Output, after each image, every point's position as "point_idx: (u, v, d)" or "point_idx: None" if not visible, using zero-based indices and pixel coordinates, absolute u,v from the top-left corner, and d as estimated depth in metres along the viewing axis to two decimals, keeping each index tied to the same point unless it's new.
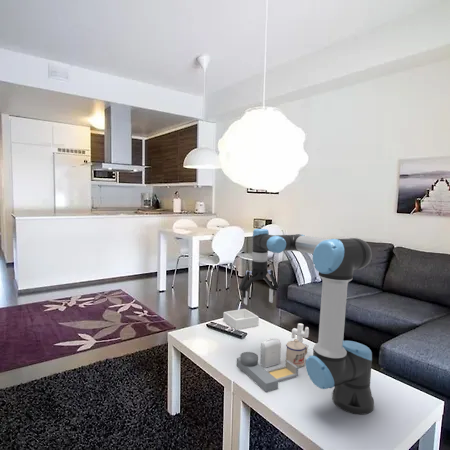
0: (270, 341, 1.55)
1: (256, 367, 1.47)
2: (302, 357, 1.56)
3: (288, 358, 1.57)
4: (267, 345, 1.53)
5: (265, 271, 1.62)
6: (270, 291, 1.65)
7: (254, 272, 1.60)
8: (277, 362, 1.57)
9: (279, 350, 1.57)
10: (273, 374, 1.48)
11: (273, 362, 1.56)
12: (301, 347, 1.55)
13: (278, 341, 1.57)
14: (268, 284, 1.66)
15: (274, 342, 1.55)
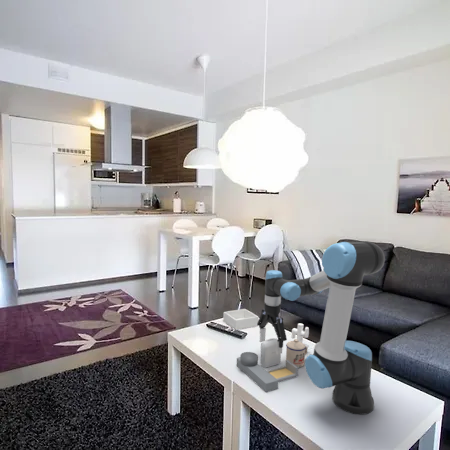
0: (270, 341, 1.55)
1: (256, 367, 1.47)
2: (302, 357, 1.56)
3: (288, 358, 1.57)
4: (267, 345, 1.53)
5: (273, 317, 1.53)
6: None
7: (266, 313, 1.58)
8: (277, 362, 1.57)
9: None
10: (273, 374, 1.48)
11: (273, 362, 1.56)
12: (301, 347, 1.55)
13: None
14: None
15: (274, 342, 1.55)
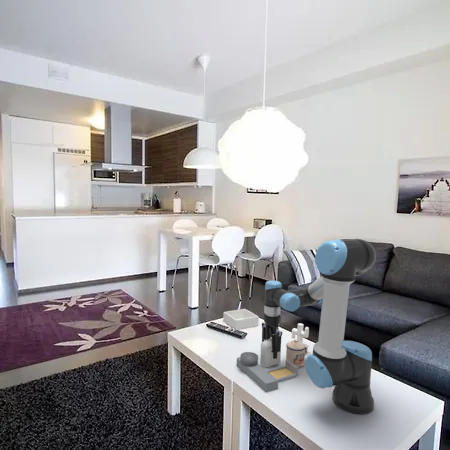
0: (270, 341, 1.55)
1: (256, 367, 1.47)
2: (302, 357, 1.56)
3: (288, 358, 1.57)
4: (267, 345, 1.53)
5: (273, 327, 1.53)
6: None
7: (266, 323, 1.58)
8: (277, 362, 1.57)
9: None
10: (273, 374, 1.48)
11: None
12: (301, 347, 1.55)
13: None
14: None
15: None
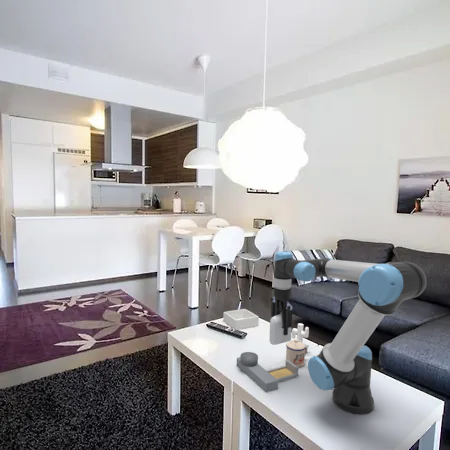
0: (280, 316, 1.44)
1: (256, 367, 1.47)
2: (302, 357, 1.56)
3: (288, 358, 1.57)
4: (277, 320, 1.42)
5: (284, 301, 1.42)
6: None
7: (275, 298, 1.47)
8: (287, 339, 1.46)
9: None
10: (273, 374, 1.48)
11: None
12: (301, 347, 1.55)
13: None
14: None
15: None
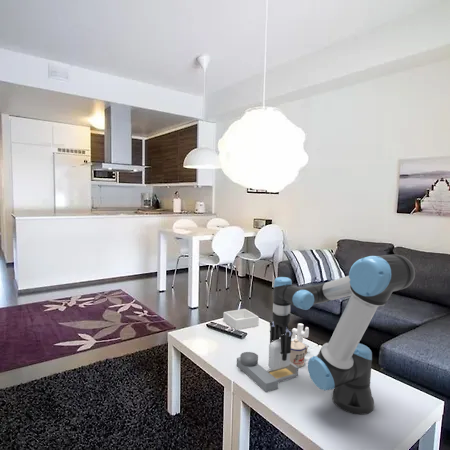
0: (279, 342, 1.45)
1: (256, 367, 1.47)
2: (302, 357, 1.56)
3: None
4: (276, 346, 1.43)
5: (283, 327, 1.43)
6: None
7: (274, 323, 1.48)
8: (286, 364, 1.47)
9: None
10: (273, 374, 1.48)
11: None
12: (301, 347, 1.55)
13: None
14: None
15: None
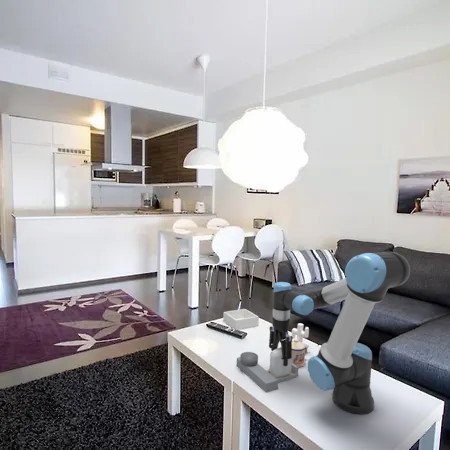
0: (280, 350, 1.44)
1: (256, 367, 1.47)
2: (302, 357, 1.56)
3: None
4: (277, 354, 1.43)
5: (282, 332, 1.43)
6: None
7: (274, 328, 1.48)
8: (288, 373, 1.46)
9: (290, 360, 1.46)
10: None
11: (283, 373, 1.45)
12: (301, 347, 1.55)
13: None
14: None
15: None
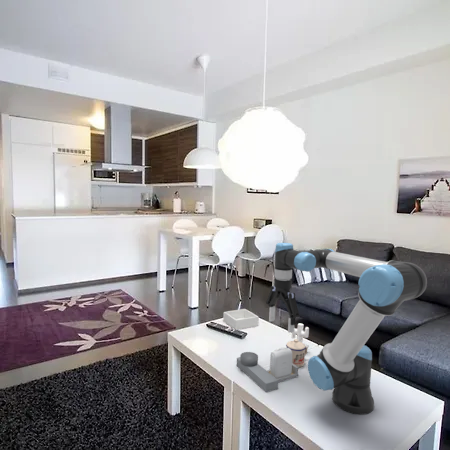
0: (280, 351, 1.44)
1: (256, 367, 1.47)
2: (302, 357, 1.56)
3: None
4: (277, 355, 1.43)
5: (284, 292, 1.42)
6: None
7: (276, 289, 1.47)
8: (288, 373, 1.46)
9: (290, 360, 1.46)
10: None
11: (284, 373, 1.45)
12: (301, 347, 1.55)
13: (289, 351, 1.46)
14: None
15: (285, 352, 1.45)
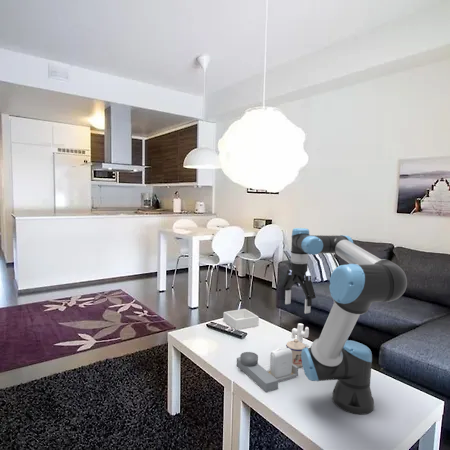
0: (280, 351, 1.44)
1: (256, 367, 1.47)
2: None
3: None
4: (277, 355, 1.43)
5: (300, 275, 1.48)
6: None
7: (292, 273, 1.53)
8: (288, 373, 1.46)
9: (290, 360, 1.46)
10: None
11: (284, 373, 1.45)
12: (301, 347, 1.55)
13: (289, 351, 1.46)
14: None
15: (285, 352, 1.45)
